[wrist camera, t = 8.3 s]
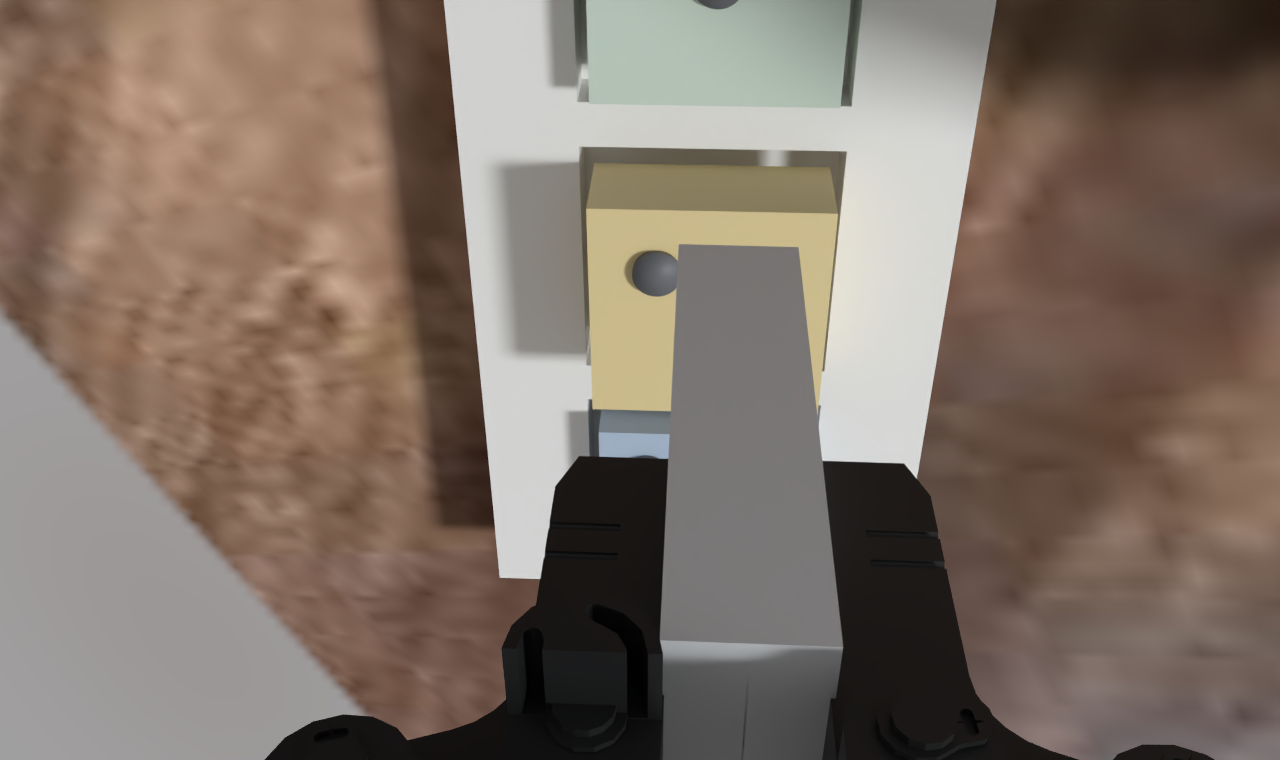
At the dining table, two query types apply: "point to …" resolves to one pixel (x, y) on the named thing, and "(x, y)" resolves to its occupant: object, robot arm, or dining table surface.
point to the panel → (704, 135)
